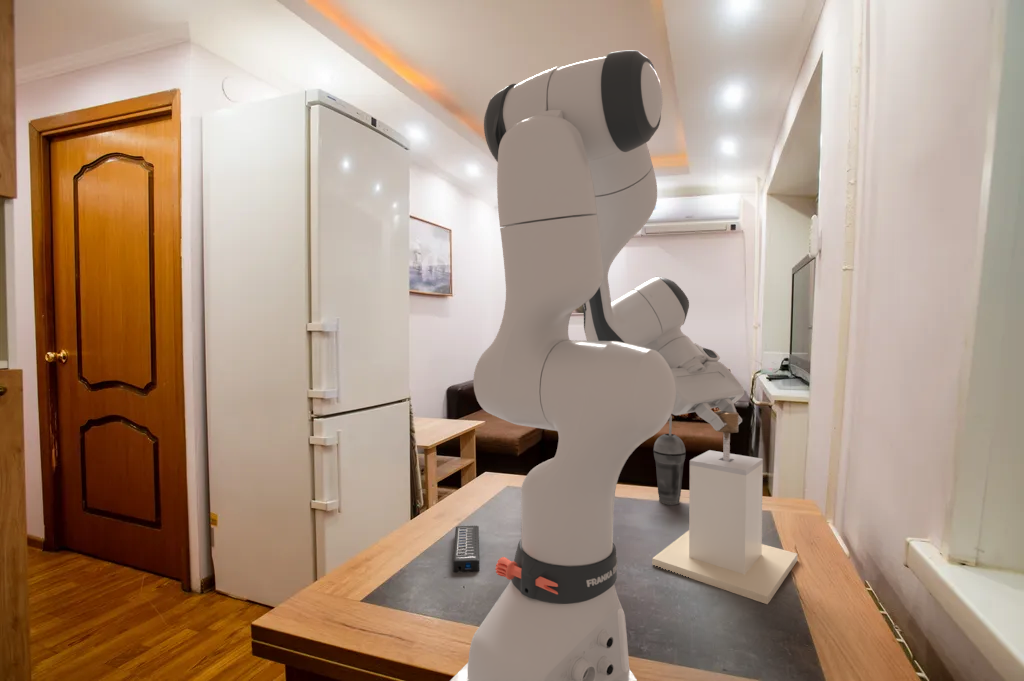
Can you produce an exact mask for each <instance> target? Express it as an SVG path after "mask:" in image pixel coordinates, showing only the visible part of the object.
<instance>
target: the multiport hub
mask: <svg viewBox="0 0 1024 681" xmlns="http://www.w3.org/2000/svg"><path fill="white" fill-rule="evenodd" d="M453 545H454V546H453V552H452V553H453V554H452V572H453V573H454V574H455V573H473V572H474V573H475V572H480V530H479V525H459V526H455V531H454V544H453Z"/></svg>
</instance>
